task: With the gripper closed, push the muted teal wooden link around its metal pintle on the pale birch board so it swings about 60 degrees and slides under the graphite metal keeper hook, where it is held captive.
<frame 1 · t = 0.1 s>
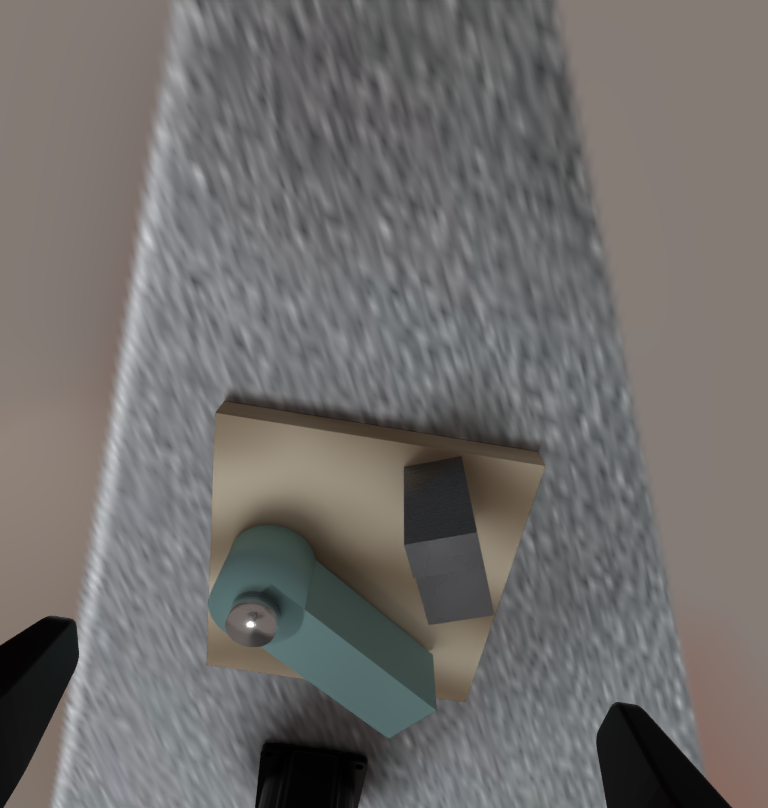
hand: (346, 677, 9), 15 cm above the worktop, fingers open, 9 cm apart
link: (325, 639, 24), point 4 cm above the worktop, hinge at -60.0°
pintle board: (279, 539, 26), on the worktop
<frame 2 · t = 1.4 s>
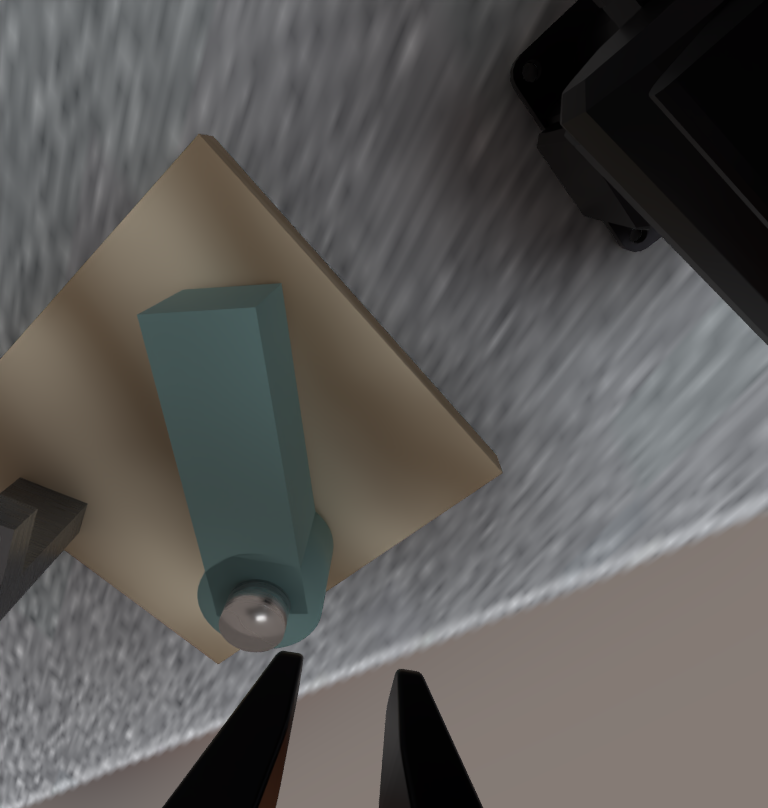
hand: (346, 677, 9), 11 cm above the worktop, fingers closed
link: (247, 486, 16), point 3 cm above the worktop, hinge at -60.0°
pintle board: (287, 518, 21), on the worktop
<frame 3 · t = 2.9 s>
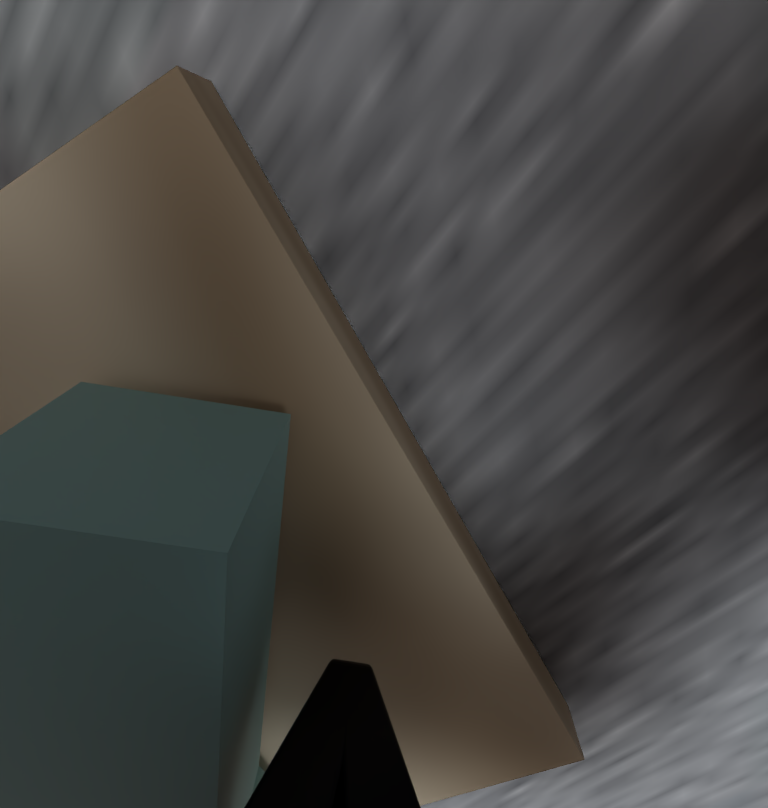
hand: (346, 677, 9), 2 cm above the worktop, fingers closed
link: (137, 789, 8), point 4 cm above the worktop, hinge at -60.0°, touching gripper
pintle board: (209, 726, 13), on the worktop
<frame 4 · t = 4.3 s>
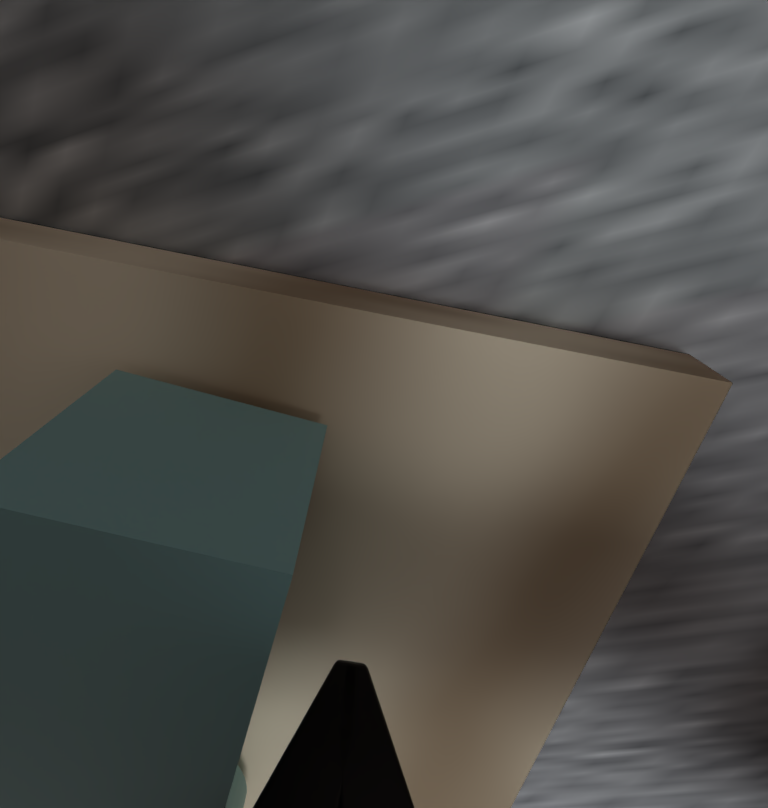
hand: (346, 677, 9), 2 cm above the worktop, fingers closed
link: (126, 783, 8), point 4 cm above the worktop, hinge at -28.3°, touching gripper
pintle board: (178, 715, 13), on the worktop
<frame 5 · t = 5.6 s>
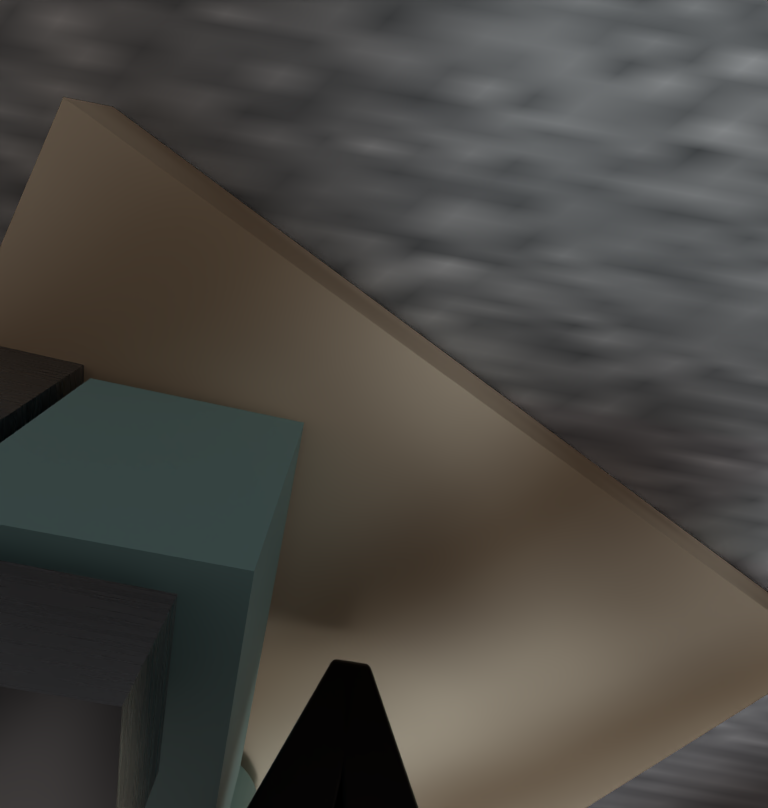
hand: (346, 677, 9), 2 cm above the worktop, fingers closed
link: (125, 791, 8), point 3 cm above the worktop, hinge at 0.9°, touching gripper
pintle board: (188, 723, 13), on the worktop
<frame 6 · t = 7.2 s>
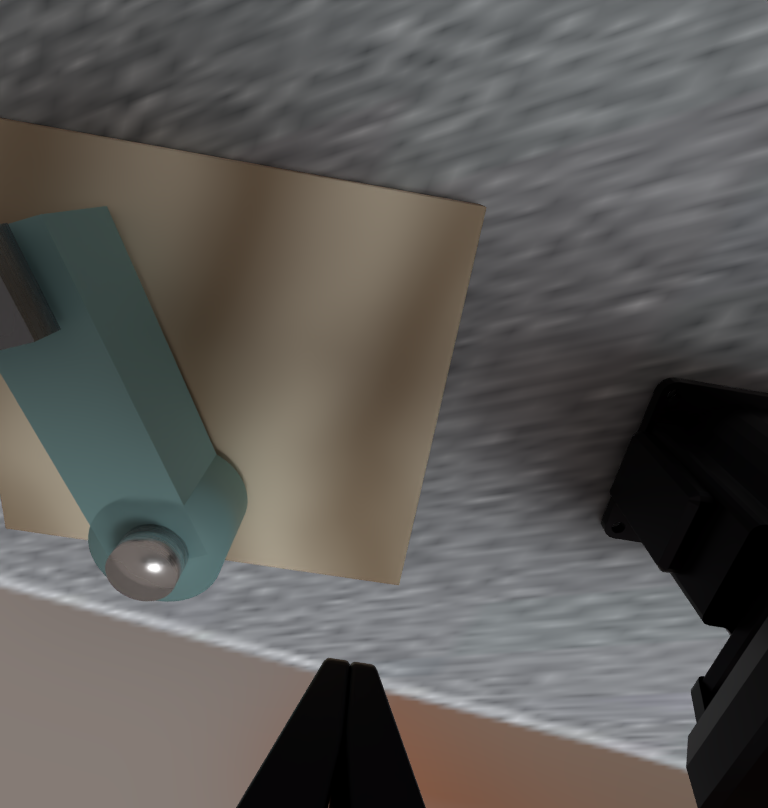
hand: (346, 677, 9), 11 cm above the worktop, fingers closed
link: (115, 428, 15), point 4 cm above the worktop, hinge at 0.9°
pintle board: (205, 472, 20), on the worktop
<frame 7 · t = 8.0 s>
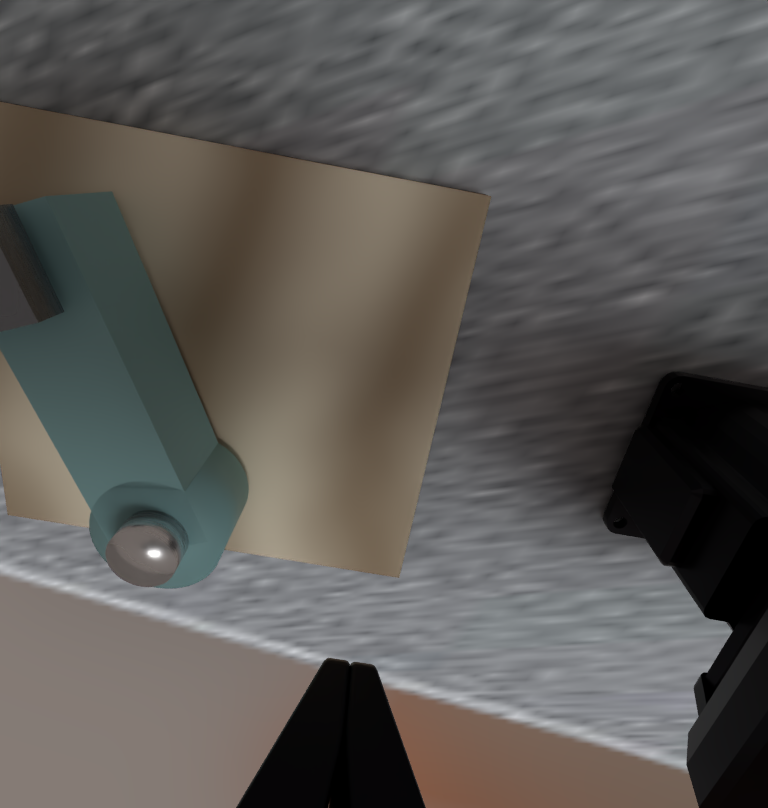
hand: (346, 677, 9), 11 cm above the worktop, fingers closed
link: (117, 413, 15), point 4 cm above the worktop, hinge at 0.9°
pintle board: (206, 461, 20), on the worktop
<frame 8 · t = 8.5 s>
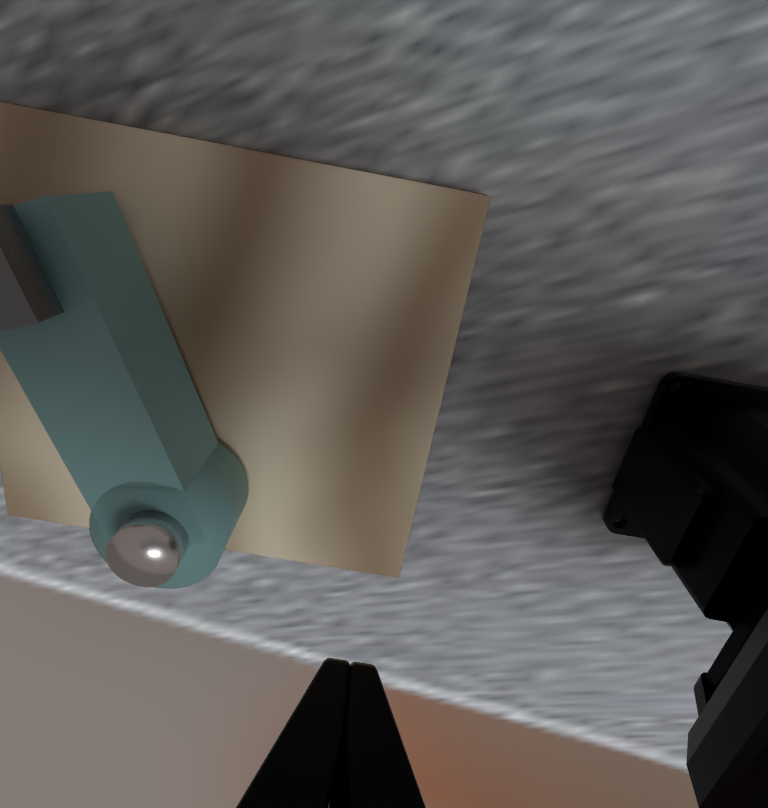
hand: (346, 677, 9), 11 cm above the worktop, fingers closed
link: (117, 413, 15), point 3 cm above the worktop, hinge at 0.9°
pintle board: (206, 461, 20), on the worktop
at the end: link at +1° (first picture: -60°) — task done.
